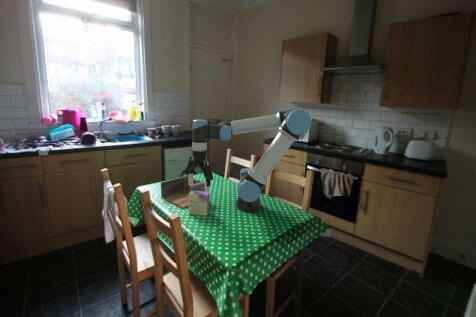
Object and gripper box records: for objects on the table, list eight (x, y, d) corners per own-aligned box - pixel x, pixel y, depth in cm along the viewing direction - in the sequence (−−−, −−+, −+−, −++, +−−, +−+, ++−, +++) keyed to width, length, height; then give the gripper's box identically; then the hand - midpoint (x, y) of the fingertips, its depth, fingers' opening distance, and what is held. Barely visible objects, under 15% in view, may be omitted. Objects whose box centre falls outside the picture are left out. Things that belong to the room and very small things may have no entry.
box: (209, 211, 142) (209, 191, 139) (207, 216, 137) (207, 195, 134) (191, 209, 143) (191, 190, 140) (188, 214, 138) (188, 193, 135)
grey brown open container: (206, 200, 157) (206, 181, 154) (182, 208, 143) (182, 188, 141) (185, 190, 171) (184, 173, 168) (161, 197, 158) (160, 178, 155)
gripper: (221, 153, 126) (219, 193, 131) (190, 144, 142) (190, 180, 147) (210, 155, 121) (208, 196, 126) (179, 146, 137) (179, 183, 142)
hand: (198, 188), depth 137 cm, fingers open, 13 cm apart
